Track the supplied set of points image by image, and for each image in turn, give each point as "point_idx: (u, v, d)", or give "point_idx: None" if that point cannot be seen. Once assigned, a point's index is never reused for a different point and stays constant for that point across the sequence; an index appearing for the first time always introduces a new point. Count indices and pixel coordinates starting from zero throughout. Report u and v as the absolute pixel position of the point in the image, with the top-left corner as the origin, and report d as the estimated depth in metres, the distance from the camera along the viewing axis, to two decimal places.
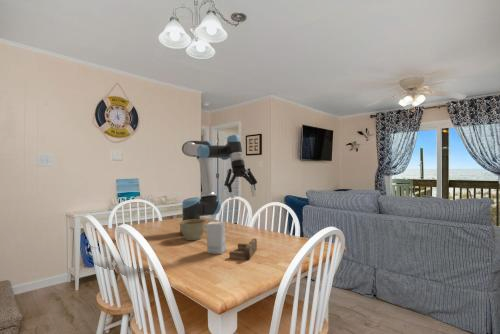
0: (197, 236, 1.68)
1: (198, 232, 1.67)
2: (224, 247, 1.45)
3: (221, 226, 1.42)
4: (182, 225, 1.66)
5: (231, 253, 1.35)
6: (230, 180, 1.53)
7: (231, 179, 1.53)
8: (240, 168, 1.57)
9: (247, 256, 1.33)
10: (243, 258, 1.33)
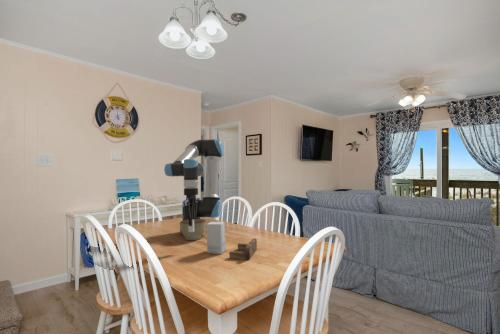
0: (197, 236, 1.68)
1: (198, 232, 1.67)
2: (224, 247, 1.45)
3: (221, 226, 1.42)
4: (182, 225, 1.66)
5: (231, 253, 1.35)
6: None
7: None
8: (193, 196, 1.49)
9: (247, 256, 1.33)
10: (243, 258, 1.33)
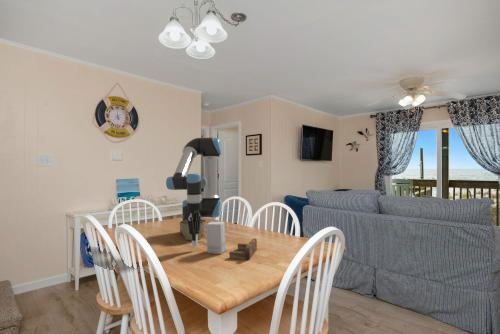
0: None
1: None
2: (224, 247, 1.45)
3: (221, 226, 1.42)
4: (182, 225, 1.66)
5: (231, 253, 1.35)
6: None
7: None
8: (196, 211, 1.48)
9: (247, 256, 1.33)
10: (243, 258, 1.33)
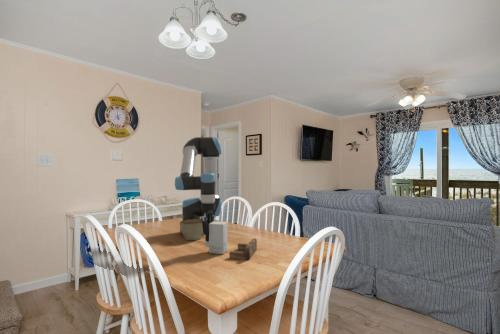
0: (197, 236, 1.68)
1: (198, 232, 1.67)
2: (226, 247, 1.45)
3: (224, 226, 1.42)
4: (182, 225, 1.66)
5: (231, 253, 1.35)
6: None
7: None
8: (210, 211, 1.46)
9: (247, 256, 1.33)
10: (243, 258, 1.33)
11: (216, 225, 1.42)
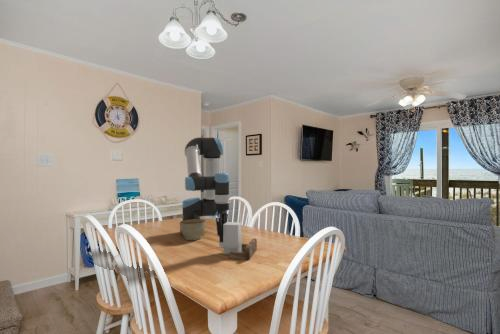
0: (197, 236, 1.68)
1: (198, 232, 1.67)
2: (240, 248, 1.43)
3: (238, 227, 1.40)
4: (182, 225, 1.66)
5: (231, 253, 1.35)
6: None
7: None
8: (224, 211, 1.44)
9: (247, 256, 1.33)
10: (243, 258, 1.33)
11: (231, 226, 1.40)
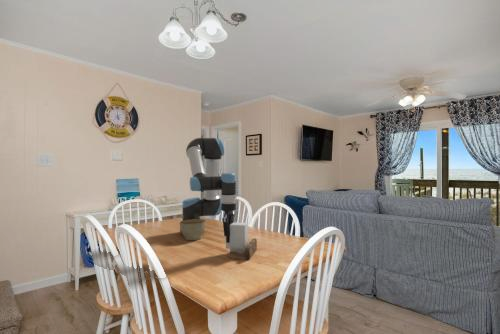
0: (197, 236, 1.68)
1: (198, 232, 1.67)
2: None
3: (245, 227, 1.39)
4: (182, 225, 1.66)
5: (231, 253, 1.35)
6: None
7: None
8: (230, 212, 1.43)
9: (247, 256, 1.33)
10: (243, 258, 1.33)
11: (237, 226, 1.39)
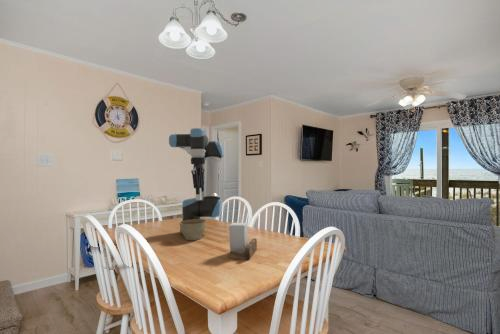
0: (197, 236, 1.68)
1: (198, 232, 1.67)
2: None
3: (244, 227, 1.39)
4: (182, 225, 1.66)
5: (231, 253, 1.35)
6: None
7: None
8: (200, 165, 1.51)
9: (247, 256, 1.33)
10: (243, 258, 1.33)
11: (237, 226, 1.39)
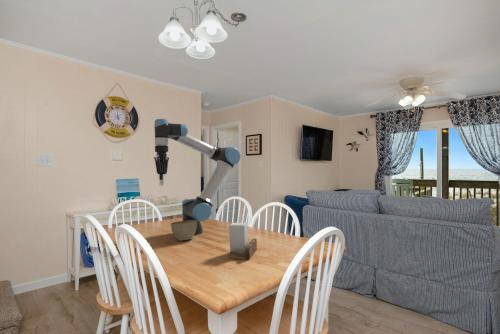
0: (186, 236, 1.66)
1: (186, 232, 1.65)
2: None
3: (244, 227, 1.39)
4: (171, 225, 1.67)
5: (231, 253, 1.35)
6: None
7: None
8: (163, 153, 1.64)
9: (247, 256, 1.33)
10: (243, 258, 1.33)
11: (237, 226, 1.39)
